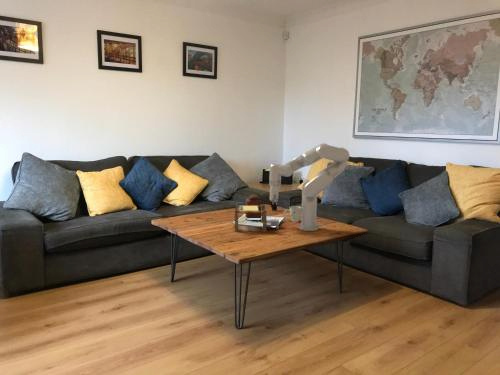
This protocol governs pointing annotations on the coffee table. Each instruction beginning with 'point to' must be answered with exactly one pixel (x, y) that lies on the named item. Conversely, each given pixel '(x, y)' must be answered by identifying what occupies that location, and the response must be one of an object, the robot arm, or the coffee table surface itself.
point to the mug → (294, 213)
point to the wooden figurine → (253, 201)
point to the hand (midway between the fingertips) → (273, 208)
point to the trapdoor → (248, 208)
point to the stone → (275, 223)
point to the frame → (247, 228)
